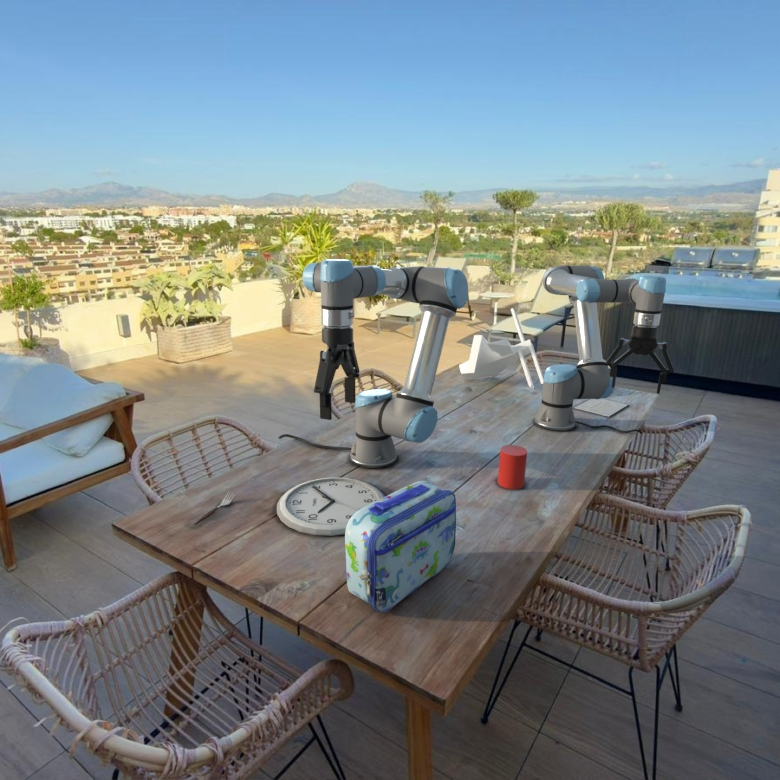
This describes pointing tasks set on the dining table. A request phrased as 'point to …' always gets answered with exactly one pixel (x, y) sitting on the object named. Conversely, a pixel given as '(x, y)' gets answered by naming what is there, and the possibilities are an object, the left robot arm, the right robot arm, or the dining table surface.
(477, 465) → the dining table surface
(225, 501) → the fork
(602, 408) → the invitation card
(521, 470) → the canister
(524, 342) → the white plastic object
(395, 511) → the lunch box
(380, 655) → the dining table surface
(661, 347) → the right robot arm
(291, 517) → the wall clock
